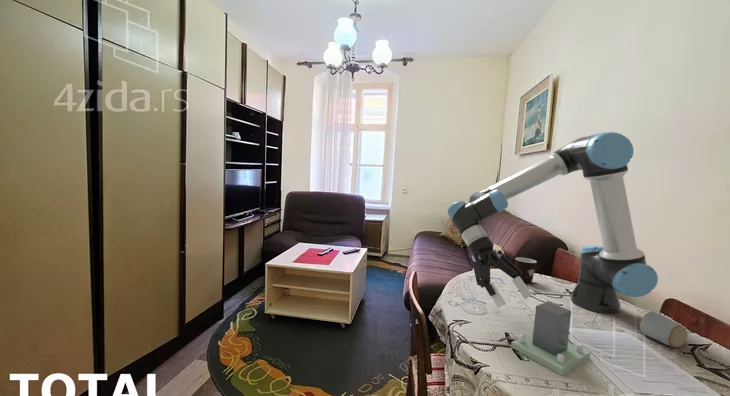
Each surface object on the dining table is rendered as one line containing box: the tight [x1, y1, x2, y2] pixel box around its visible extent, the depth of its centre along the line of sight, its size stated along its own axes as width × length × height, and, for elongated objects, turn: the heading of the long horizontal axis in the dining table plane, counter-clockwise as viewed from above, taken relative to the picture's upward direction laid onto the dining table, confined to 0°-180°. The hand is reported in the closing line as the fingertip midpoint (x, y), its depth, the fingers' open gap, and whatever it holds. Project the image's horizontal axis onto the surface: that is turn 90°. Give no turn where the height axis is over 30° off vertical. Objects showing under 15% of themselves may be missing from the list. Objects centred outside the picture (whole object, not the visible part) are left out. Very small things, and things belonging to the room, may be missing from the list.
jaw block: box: [532, 301, 572, 356], centre depth 81 cm, size 6×6×11 cm
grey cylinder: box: [639, 311, 688, 348], centre depth 90 cm, size 11×8×8 cm
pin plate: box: [510, 332, 591, 376], centre depth 81 cm, size 15×13×4 cm
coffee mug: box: [515, 257, 540, 285], centre depth 138 cm, size 12×9×10 cm
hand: (515, 301), depth 90 cm, fingers open, 13 cm apart
